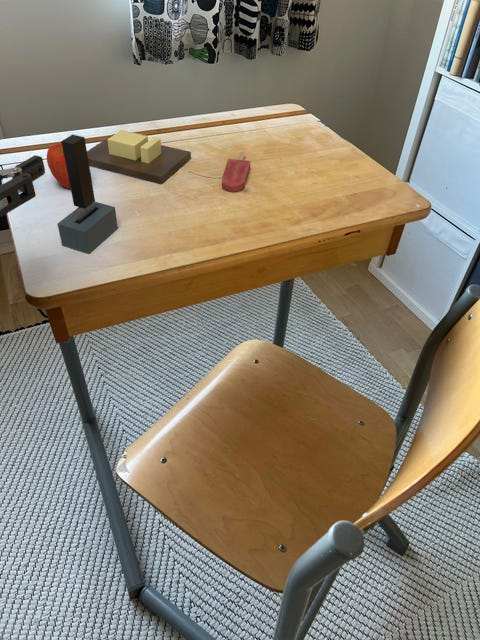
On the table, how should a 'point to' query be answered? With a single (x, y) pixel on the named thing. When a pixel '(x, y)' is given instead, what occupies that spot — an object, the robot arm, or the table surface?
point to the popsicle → (235, 174)
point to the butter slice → (150, 150)
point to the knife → (79, 176)
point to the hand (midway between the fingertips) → (12, 155)
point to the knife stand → (88, 228)
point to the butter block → (126, 144)
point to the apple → (58, 165)
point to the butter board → (139, 163)
